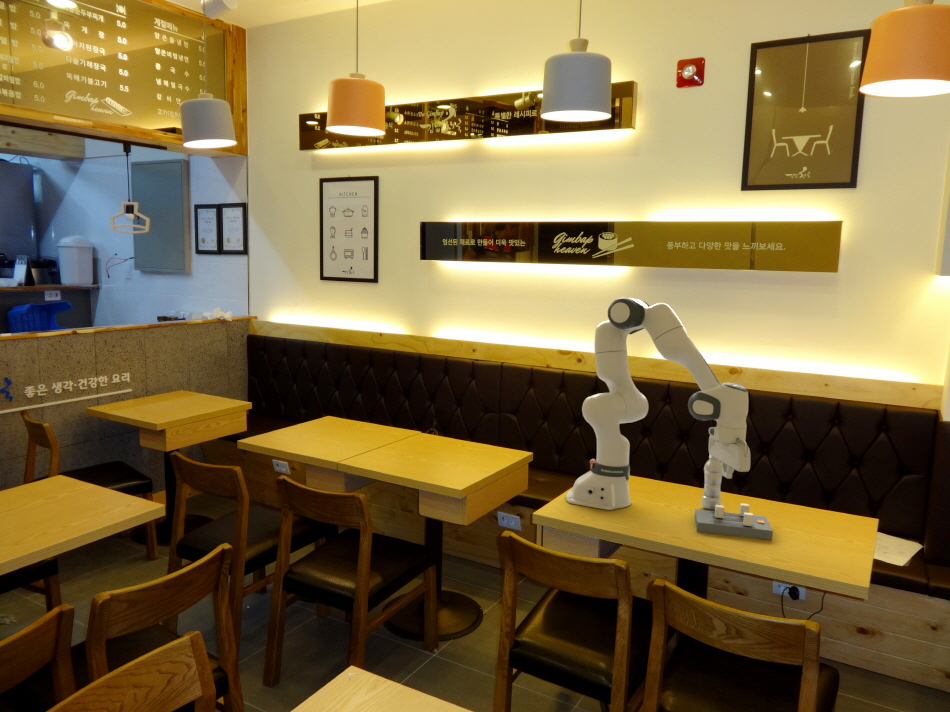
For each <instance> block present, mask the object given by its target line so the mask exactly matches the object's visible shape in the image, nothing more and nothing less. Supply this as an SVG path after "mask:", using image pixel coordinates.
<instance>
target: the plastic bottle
mask: <svg viewBox="0 0 950 712" xmlns="http://www.w3.org/2000/svg"><path fill="white" fill-rule="evenodd" d="M708 458H709V459H707V461H706V462H705V464H704V467H703V473H704V474H703V475H704V486H703V492H702V496H701V506H702V508H704V510H709V511H715V506H716V505H722V497H721V485H722V478H723V475H722V473H723V470H722V466H721V461H720V460H718V459H716V458H715V457H713V456H711V455H710V454H709V456H708Z"/></svg>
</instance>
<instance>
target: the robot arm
mask: <svg viewBox="0 0 950 712" xmlns="http://www.w3.org/2000/svg"><path fill="white" fill-rule="evenodd" d="M607 318H608V320H604V321H602V322H600V323H598V325H597V326H596V327H595V332H594V357H595V371H596V376H597V377H598V379H600V380H601V381H603V382H604V383H605V385H606V386H607V388H608V391H609V392H603V393H602V392H601V393H599V392H598V393H596V394H593V395H591V396H590V395H589V396H588V397H586V398H585V399H584V401H583V403H582V407H581V412H582V417H583V418H584V420H585V421H586V422H587V423H588V424H589V425H590V426H591V428H592V429H593V431H594V433H595V437H596V459H595V458H592V459H590V460H589V471H587V472H586V473H584V474H582V475H580V476H579V477H578V478H577V479H576V480H575V482H574V483H573V486H572V489H569V491H568V492H567V493H566V495H565V500H566V502H568V503H569V504H572V505H578V506H579V505H580V506H583V507H591V508H596V509H601V510H606V511H613V510H616V509H623V508H627V507H629V506H630V505H631V504H632V503H631V499H630V490H629V480H630V474H631V473H630V471H631V467H630V447H631V445H630V441H629V440H628V438H627V437H626V436H624V435H623V434H621V430H620V424H627V423H634V422H637V421H640V420H642V419H644V418H645V417H646V416H647V415H648V412H649V401H648V399H647V397H646V396H645V395H644V394H643V393H642V392H640V390H639V389H638V388H637V387H636V385H635V383H634V381H633V379H632V376H631V373H630V366H629V356H628V347H627V337H628V335H632V334H635V333H638V332H640V331H643V330H645V331H646V333H648V335H649V336H650V338H651V340H652V342H653V344H654V346H655V348H656V350H657V351H658V353H659V354H660V355H661V356H662V357H663V358H664V359H665V360H667V361H670V362H673V363H676V364H677V365H680V366H682V367H683V368H685V369H686V370H687V371H688V372H689V373H690V374H691V377H692V378H693V380H694V381H695V383H696V384H697V386H698V388H699V389H700V390H699V391H696V392H694V393H693V394H691V396H689V398H688V402H687V407H688V408H687V409H688V411H689V413H690V415H691V416H692V418H694V419H696V420H699V421H716V426H714V427H713V426H711V427H709V428H708V434H709V437H708V453H709V454H710V455H711V456H713V457H715V458H716V459H718V460H720V462H721V466H722V470H723V473H722V477H724V478H726V479H732V478H733V473H734V471H737V472H741V473H742V472H743V473H745V472H746V473H747V472H749V471H750V469H751V450H750V447H749V445H748V444H747V442H746V440H747V439H746V437H747V436H746V435H747V426H748V425H747V421H746V420H747V416H748V414H749V392H748V390H747V388H745V386H743V385H742V384H738V383H735V382H723V383H721V382H720V381H719V379H718V378H717V376H716V375H715V374H714V372H713V370H712V368H711V367H710V366H709V364H708V362H707V361H706V359H705V358H704V356H703V355H702V354H701V352H700V351H699V350H698V348H697V347H696V345H695V344H694V342H693V340H692V339H691V337H690V335H689V333H688V331H687V329H686V328H685V325H683V322H682V321H681V319H680V318H679V317H678V315H677V313H676V312H675V311H674V309H672V307H671V306H670V305H669V304H668V303H664V302H658V303H655V304H653V305H651V306H650V305H649V304H648V303H647V302H646V301H643V300H641V299H638V298H635V297H619V298H616V299H615V300H613V301H612V302H611V303H610V304H609V306H608V309H607Z"/></svg>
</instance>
